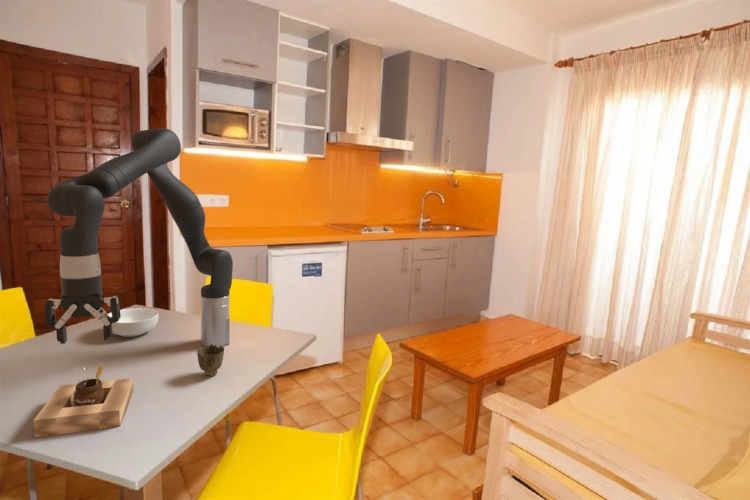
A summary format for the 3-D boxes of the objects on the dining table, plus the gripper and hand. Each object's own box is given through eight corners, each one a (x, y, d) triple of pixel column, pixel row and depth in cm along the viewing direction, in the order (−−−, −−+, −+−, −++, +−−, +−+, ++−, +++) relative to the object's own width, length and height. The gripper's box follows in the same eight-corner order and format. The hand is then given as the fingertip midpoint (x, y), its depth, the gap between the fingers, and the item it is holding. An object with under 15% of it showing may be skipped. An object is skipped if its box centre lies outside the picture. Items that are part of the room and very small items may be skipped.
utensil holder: (87, 403, 103) (84, 357, 101) (111, 404, 103) (109, 359, 101) (68, 416, 97) (65, 368, 95) (94, 418, 97) (92, 370, 95)
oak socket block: (133, 392, 110) (133, 378, 109) (120, 426, 95) (119, 410, 95) (61, 400, 104) (60, 385, 104) (34, 437, 90) (33, 420, 89)
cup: (229, 372, 124) (229, 346, 123) (212, 382, 118) (212, 355, 116) (209, 367, 127) (209, 342, 126) (191, 377, 120) (191, 351, 119)
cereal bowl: (142, 343, 141) (141, 323, 140) (93, 340, 141) (92, 320, 140) (167, 326, 158) (167, 308, 157) (124, 324, 158) (123, 306, 157)
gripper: (120, 269, 100) (123, 332, 103) (49, 270, 95) (54, 337, 98) (113, 276, 93) (117, 344, 96) (36, 278, 88) (42, 350, 91)
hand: (85, 340), depth 97 cm, fingers open, 8 cm apart
